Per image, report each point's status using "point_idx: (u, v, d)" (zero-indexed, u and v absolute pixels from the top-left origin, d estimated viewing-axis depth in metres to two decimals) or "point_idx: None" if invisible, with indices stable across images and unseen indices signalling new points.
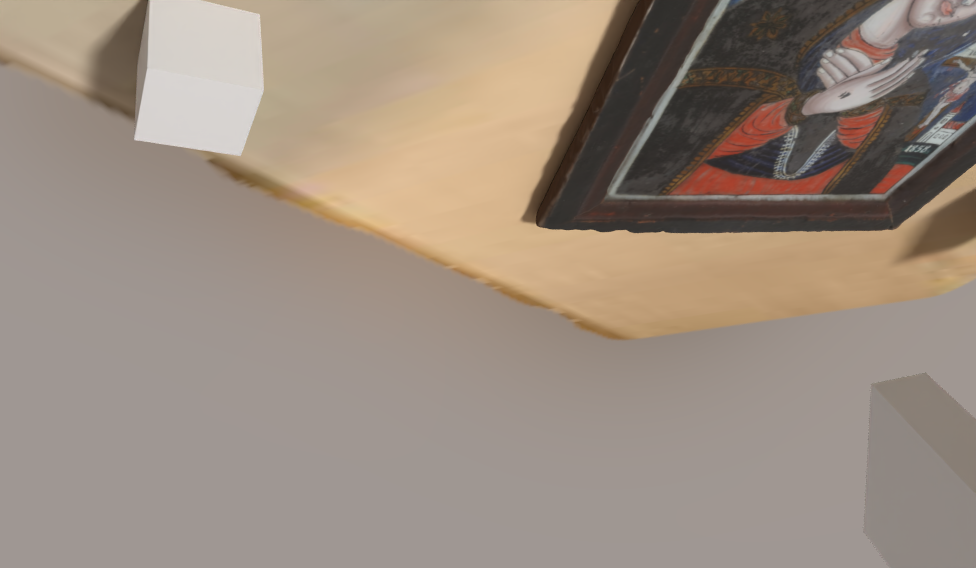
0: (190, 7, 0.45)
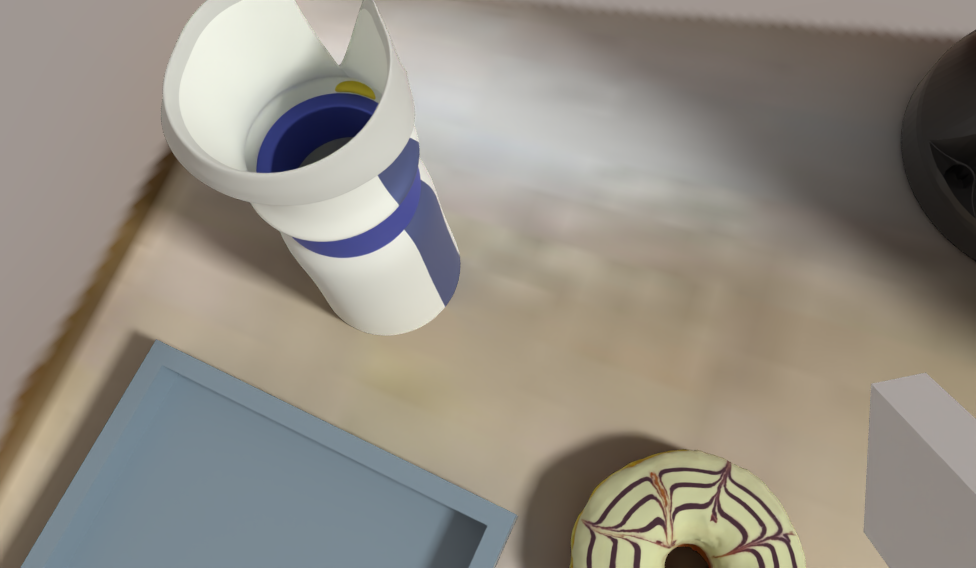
0: None
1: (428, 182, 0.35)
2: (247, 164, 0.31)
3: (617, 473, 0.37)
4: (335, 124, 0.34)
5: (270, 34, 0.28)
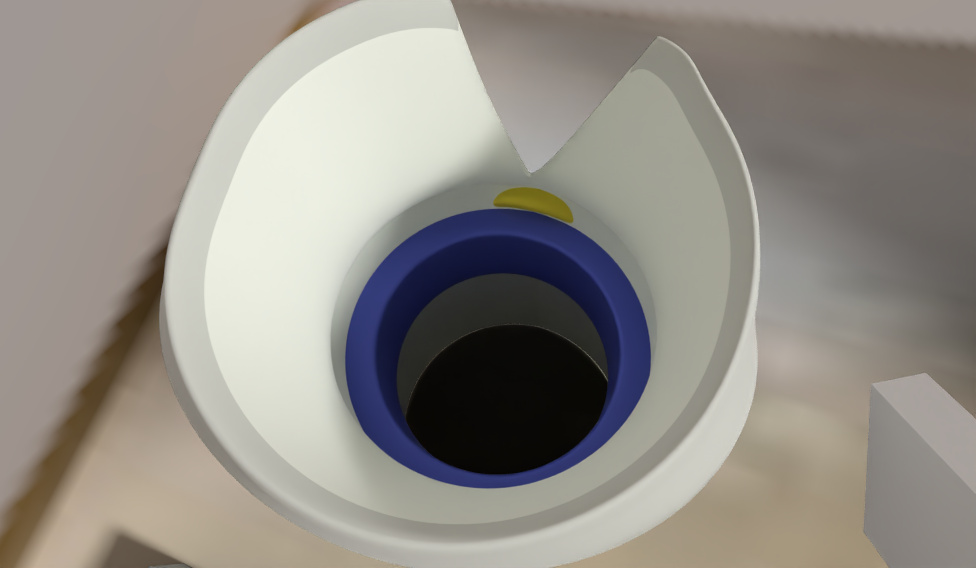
0: None
1: None
2: None
3: None
4: (482, 259, 0.18)
5: (403, 117, 0.13)
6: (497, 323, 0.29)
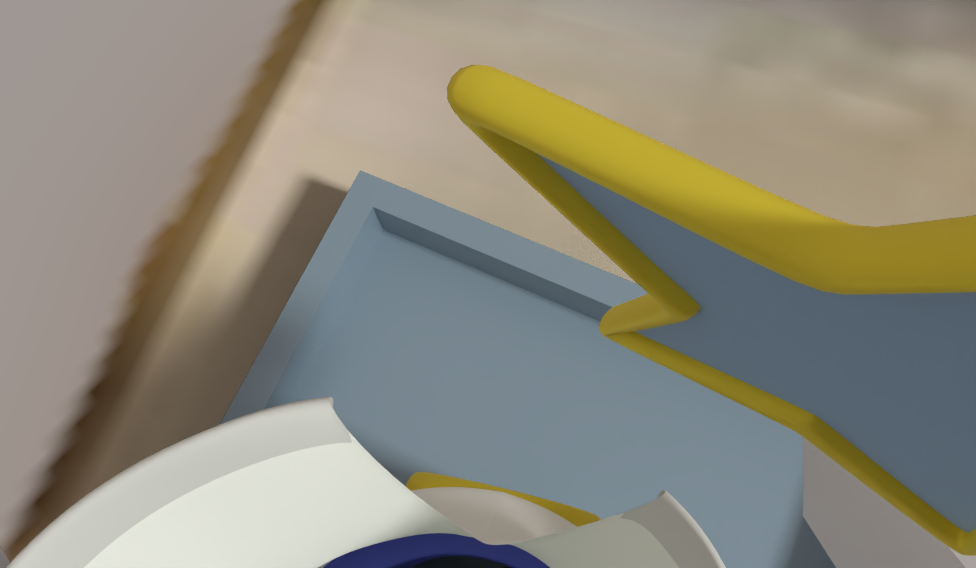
0: None
1: None
2: None
3: None
4: None
5: (285, 528, 0.09)
6: None
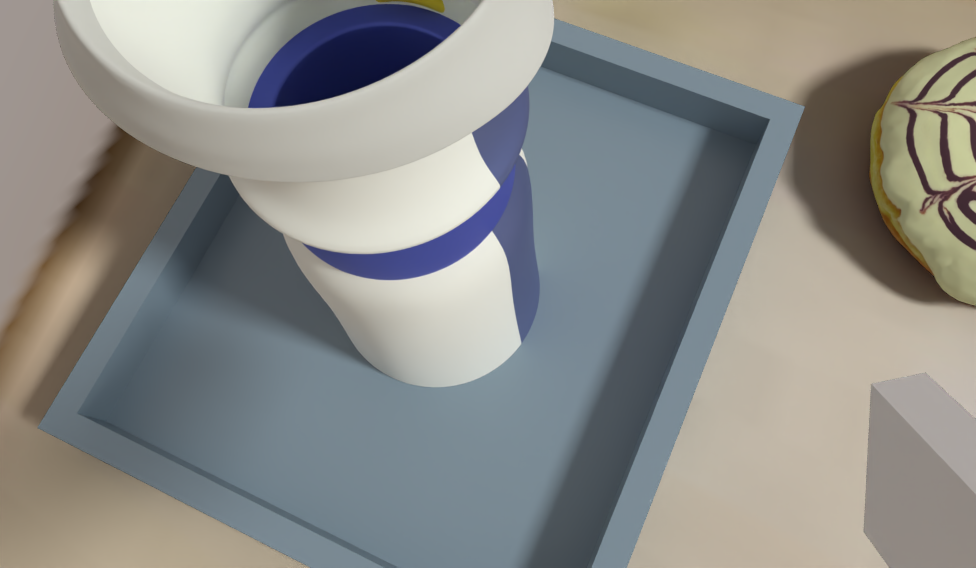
0: None
1: (522, 154, 0.22)
2: None
3: (930, 55, 0.30)
4: (373, 61, 0.20)
5: None
6: None
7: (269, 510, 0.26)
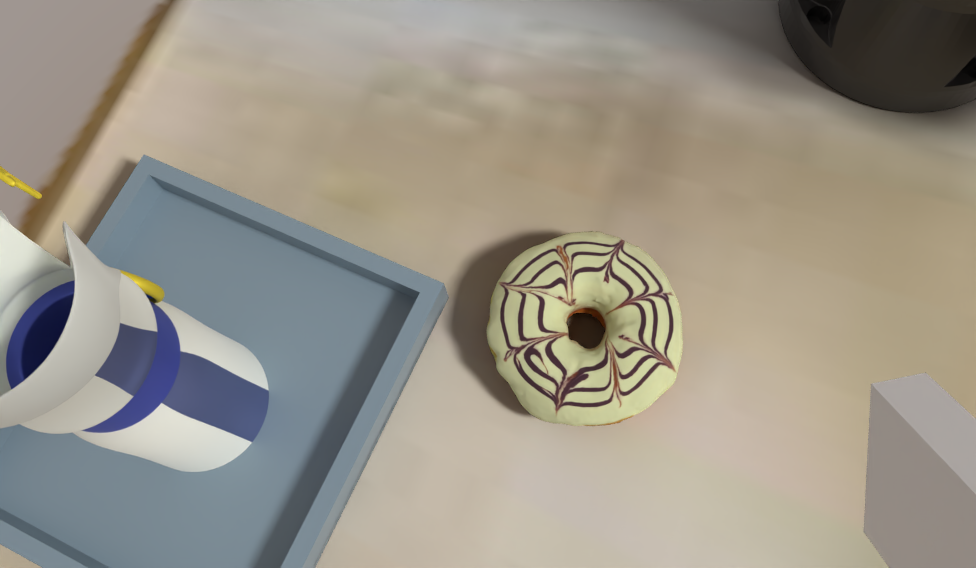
0: None
1: (193, 350, 0.36)
2: None
3: (530, 248, 0.45)
4: None
5: None
6: None
7: (68, 557, 0.41)
